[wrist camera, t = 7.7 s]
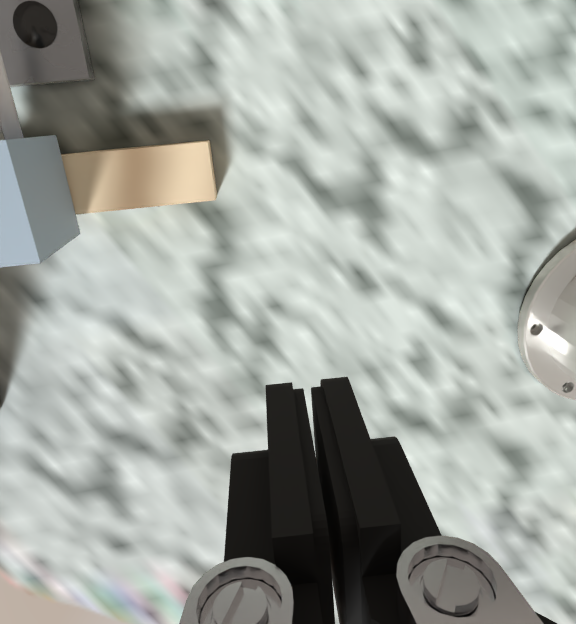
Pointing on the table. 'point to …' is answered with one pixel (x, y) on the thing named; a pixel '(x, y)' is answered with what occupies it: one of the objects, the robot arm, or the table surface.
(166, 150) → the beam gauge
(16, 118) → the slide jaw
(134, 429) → the table surface
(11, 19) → the flange plate
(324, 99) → the table surface
